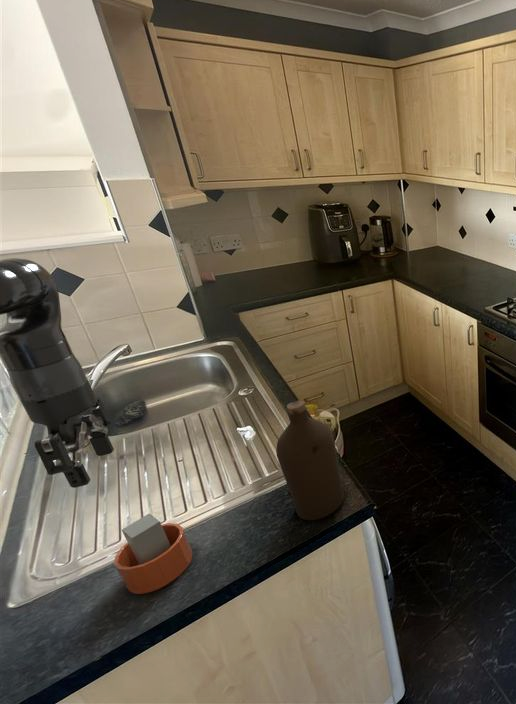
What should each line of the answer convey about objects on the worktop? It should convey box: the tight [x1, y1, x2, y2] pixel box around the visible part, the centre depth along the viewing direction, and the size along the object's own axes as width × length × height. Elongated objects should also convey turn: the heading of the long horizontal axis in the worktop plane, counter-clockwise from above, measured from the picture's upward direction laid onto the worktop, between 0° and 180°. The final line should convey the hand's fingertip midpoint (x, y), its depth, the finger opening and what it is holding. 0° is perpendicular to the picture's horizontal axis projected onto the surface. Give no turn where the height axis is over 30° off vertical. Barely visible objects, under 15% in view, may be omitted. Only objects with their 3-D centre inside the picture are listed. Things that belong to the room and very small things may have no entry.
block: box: [121, 513, 171, 565], centre depth 72 cm, size 4×4×10 cm
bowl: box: [113, 522, 193, 595], centre depth 73 cm, size 9×9×6 cm
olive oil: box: [275, 399, 345, 521], centre depth 84 cm, size 11×11×25 cm
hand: (94, 468), depth 70 cm, fingers open, 8 cm apart
